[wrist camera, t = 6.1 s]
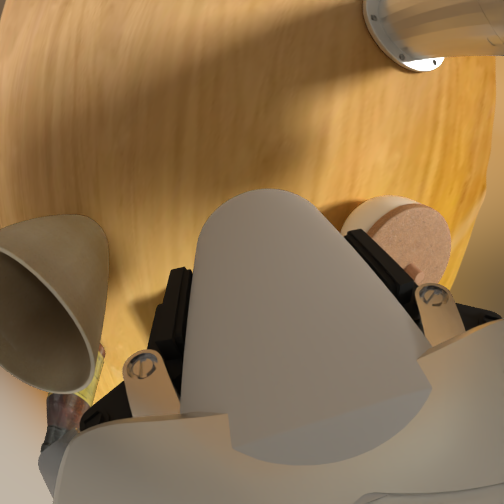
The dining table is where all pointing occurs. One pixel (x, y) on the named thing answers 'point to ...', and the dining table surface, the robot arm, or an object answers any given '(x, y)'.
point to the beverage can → (296, 337)
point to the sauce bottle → (70, 406)
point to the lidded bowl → (405, 234)
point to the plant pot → (52, 300)
